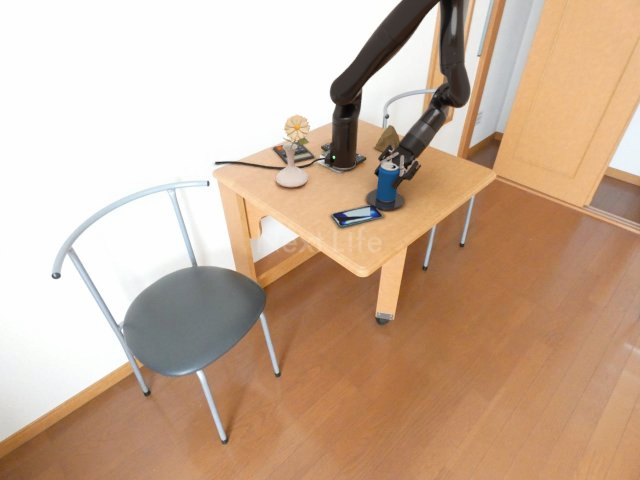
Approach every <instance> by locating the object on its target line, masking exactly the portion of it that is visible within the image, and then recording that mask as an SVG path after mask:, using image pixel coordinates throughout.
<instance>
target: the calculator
mask: <svg viewBox="0 0 640 480" xmlns="http://www.w3.org/2000/svg"><path fill="white" fill-rule="evenodd" d="M294 144H296V145H297V146H298V147H297V149H296V150H295V153H294V164H295V163H299V162H303V161H307V160H312V159H314V158H315V156H314V154H313V153H311V151H310V150H308V149H307V147H306V146H304V145H301V144H299V142H298V141H295V143H294ZM283 145H284V144H281V145H277V146H273V150H274V152H275V153H276V154H277V155H278V156H279V157H280V158H281V159H282V160H283V161H284V163H285V164H286V165H288V159H287V154H286V151H285V150H284V149H283Z"/></svg>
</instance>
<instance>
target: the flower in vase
mask: <svg viewBox="0 0 640 480" xmlns="http://www.w3.org/2000/svg"><path fill="white" fill-rule="evenodd" d="M309 123H310V122H309V120H308V118H306V117H305V116H303V115H300V114H297V113H296V114H295V115H292V116H290V117H288V118H287V119H286V121H285V123H284V124H285V125H284V127H283V131H284V132H285V134H286V137H287V138H284V137H282V139H283V140H285V141H287V142H289V143H285V144H282V145H283V149H284V150H285V151H286V154H287V159H288V164H286V166H285V167H286V168H284V169H280V171H279V172H278V173H277V174H276V177H275V181H276V182H277V184H278V185H279V186H281V187H284V188H290V189H291V188H298V187H301V186H303V185H305V184H306V183H307V181H308V180H309V176H308V173H306V171H304V170H303V169H302V168H298V167H296V166H297V165H296V164H295V163H294V153H295V150H296V149H297V147H298V146H297V145H296V144H294V143H295V142H299V144H301V145H303V146H304V145H307V144H310V141H309V140H308V139H307V137H308V133H309V132H310V128H311V125H310V124H309ZM288 138H289V139H288ZM290 139H291V140H293V141H291V140H290Z"/></svg>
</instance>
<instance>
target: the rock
mask: <svg viewBox="0 0 640 480" xmlns="http://www.w3.org/2000/svg"><path fill="white" fill-rule="evenodd" d="M400 141H401V139H400V136H399V134H398V132H397V130H396V128H395V127H394V126H393V125H391V124H389V125H388V126H387V127H386V129H384V131H383V133H382V134H381V135H380V136H379V138H378V140H377V142H376V144H375V146H374V149H375V150H378V151H380V152H382V153H383V152H384V150H385V149H386V148H387V147H388V146H389V145H391V146H392V147H393V148H394V149H396V148H397V147H398V146H399V142H400Z"/></svg>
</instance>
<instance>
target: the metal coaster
mask: <svg viewBox="0 0 640 480" xmlns="http://www.w3.org/2000/svg"><path fill="white" fill-rule="evenodd" d="M376 193H377V188H376V189H374V190H371V191H370V192H369V193H367V195H366V202H367V204H368V205H371V206H372V207H374V208H376V209H378V210H379V211H380V212H393V211H397V210H399V209H400V208H402V207H403V204H404V197H403V195H402V194H401V193H400V192H398V191H397V194H396V199H395V200H393V201H391V202H382V201H380V200H379V199H378V198H377V197H376Z"/></svg>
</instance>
